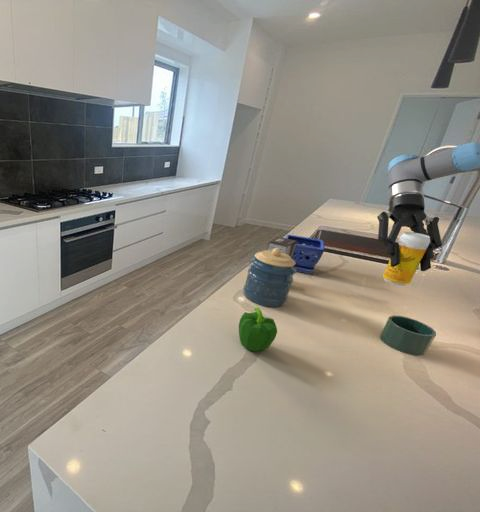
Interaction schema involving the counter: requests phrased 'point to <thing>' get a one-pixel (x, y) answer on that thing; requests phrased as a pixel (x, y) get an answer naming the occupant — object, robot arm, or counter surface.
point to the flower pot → (306, 253)
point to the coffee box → (283, 245)
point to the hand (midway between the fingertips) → (410, 267)
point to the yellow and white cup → (407, 258)
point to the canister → (269, 278)
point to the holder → (407, 335)
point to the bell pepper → (256, 331)
